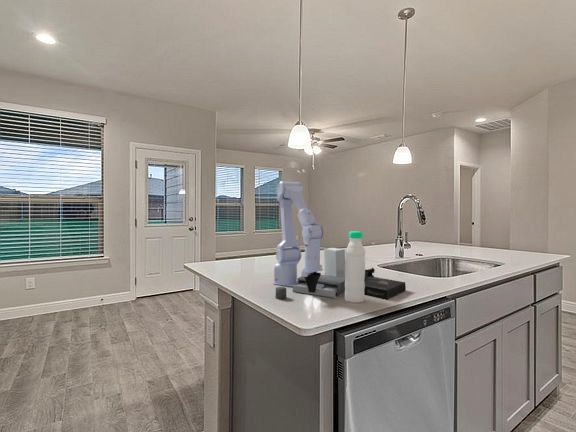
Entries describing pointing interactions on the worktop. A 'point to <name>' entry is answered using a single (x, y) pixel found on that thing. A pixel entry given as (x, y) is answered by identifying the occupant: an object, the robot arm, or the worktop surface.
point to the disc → (320, 285)
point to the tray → (327, 291)
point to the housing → (329, 282)
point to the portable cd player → (382, 287)
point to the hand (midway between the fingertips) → (311, 292)
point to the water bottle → (355, 269)
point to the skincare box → (334, 262)
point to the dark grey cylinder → (280, 293)
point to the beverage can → (369, 272)
